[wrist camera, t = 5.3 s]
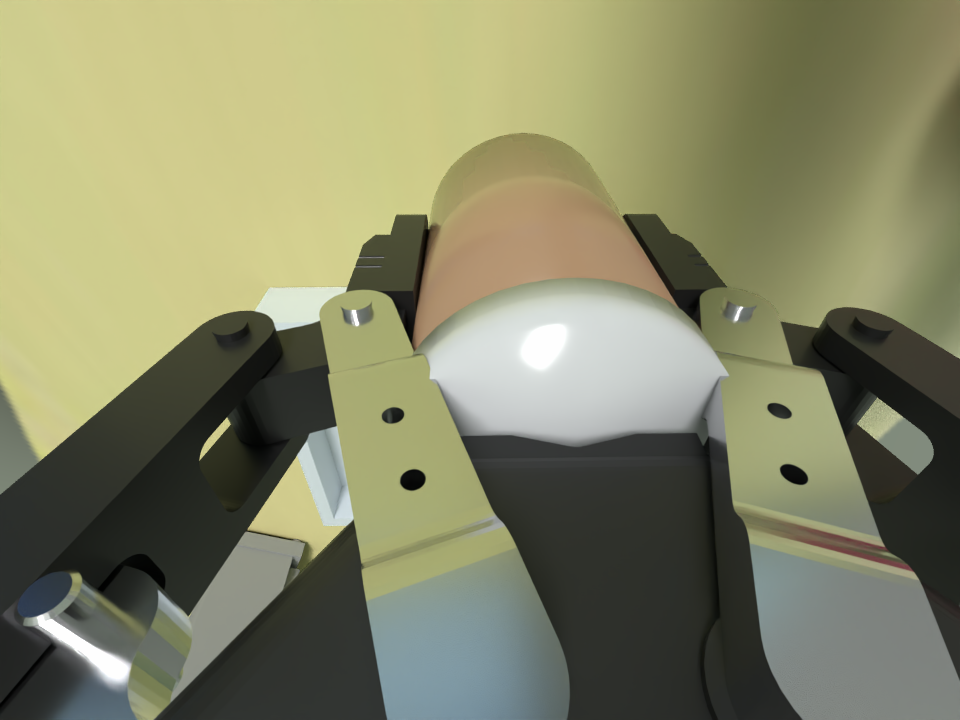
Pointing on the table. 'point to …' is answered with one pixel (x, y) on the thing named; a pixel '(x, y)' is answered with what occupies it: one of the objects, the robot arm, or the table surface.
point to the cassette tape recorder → (238, 597)
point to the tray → (322, 446)
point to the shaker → (551, 306)
